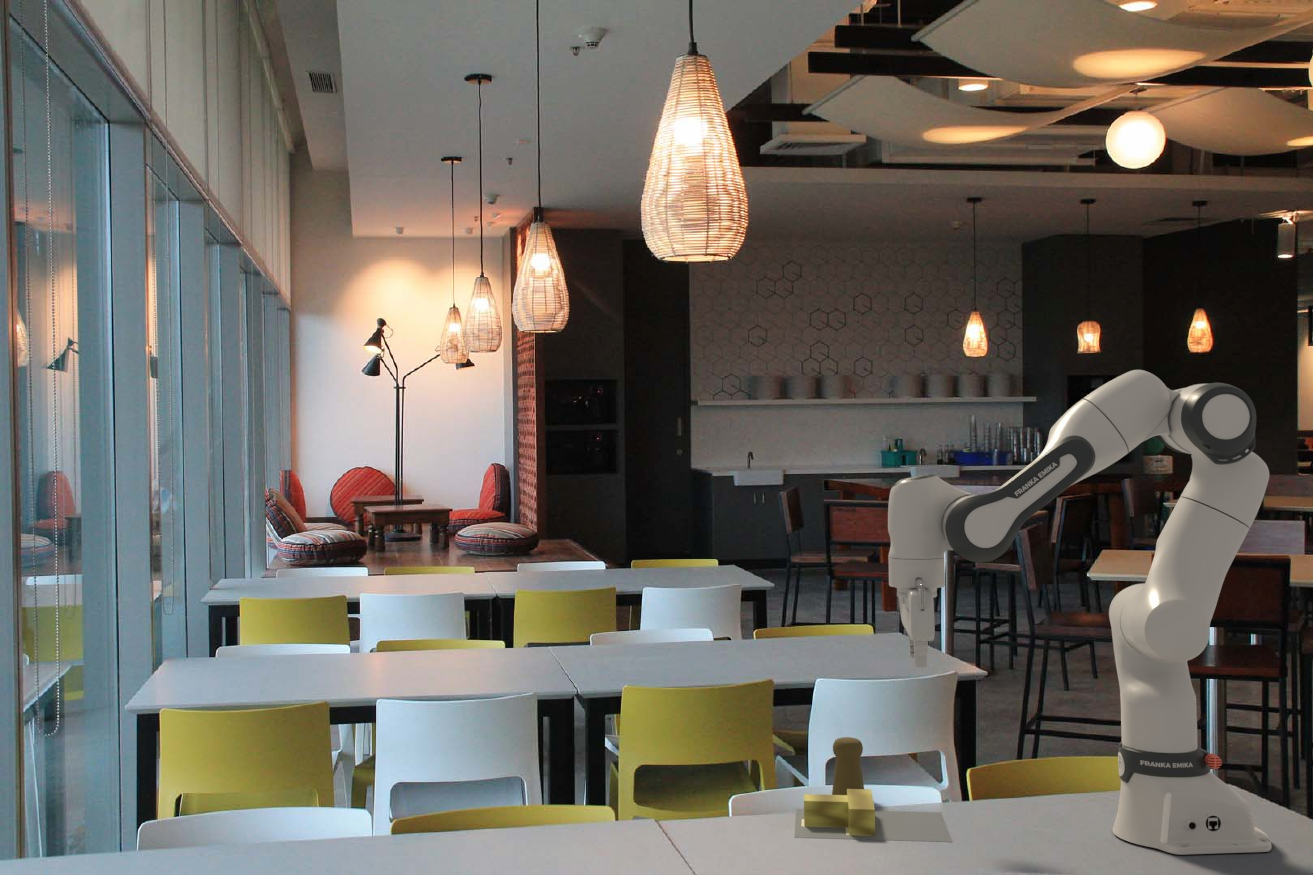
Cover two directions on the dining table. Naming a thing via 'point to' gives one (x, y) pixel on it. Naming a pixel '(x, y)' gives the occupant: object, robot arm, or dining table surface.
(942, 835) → the board
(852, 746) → the cork
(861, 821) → the t block
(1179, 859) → the dining table surface
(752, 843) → the dining table surface
